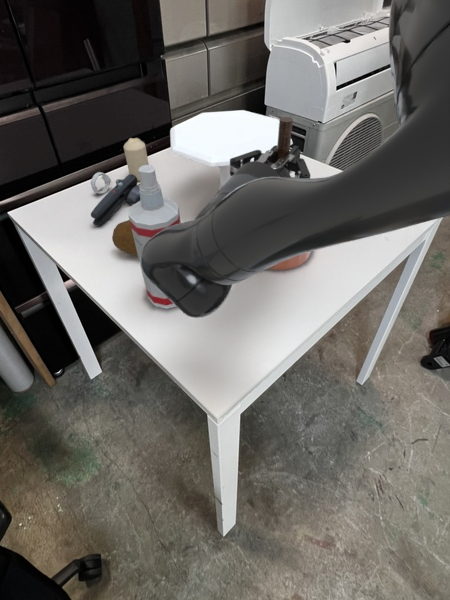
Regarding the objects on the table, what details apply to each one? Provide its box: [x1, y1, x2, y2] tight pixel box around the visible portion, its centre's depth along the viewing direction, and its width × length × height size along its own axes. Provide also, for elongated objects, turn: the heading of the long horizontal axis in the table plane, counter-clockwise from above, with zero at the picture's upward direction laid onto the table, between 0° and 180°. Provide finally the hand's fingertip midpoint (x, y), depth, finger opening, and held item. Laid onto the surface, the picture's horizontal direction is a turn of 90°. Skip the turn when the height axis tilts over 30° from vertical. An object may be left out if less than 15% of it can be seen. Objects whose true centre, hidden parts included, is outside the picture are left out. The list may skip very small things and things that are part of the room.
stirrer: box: [276, 116, 294, 162], centre depth 61 cm, size 4×4×14 cm
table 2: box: [169, 109, 294, 189], centre depth 87 cm, size 28×28×17 cm
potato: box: [111, 219, 138, 256], centre depth 77 cm, size 8×12×8 cm, turn 100°
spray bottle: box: [127, 164, 182, 310], centre depth 61 cm, size 8×8×25 cm
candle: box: [123, 137, 150, 182], centre depth 98 cm, size 6×6×10 cm
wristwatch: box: [90, 171, 112, 195], centre depth 95 cm, size 3×5×5 cm, turn 149°
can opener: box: [90, 174, 141, 227], centre depth 89 cm, size 18×7×6 cm, turn 152°
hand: (288, 150), depth 62 cm, fingers closed on stirrer, 2 cm apart
